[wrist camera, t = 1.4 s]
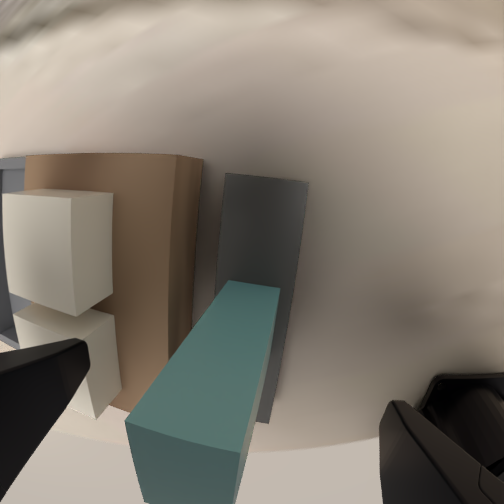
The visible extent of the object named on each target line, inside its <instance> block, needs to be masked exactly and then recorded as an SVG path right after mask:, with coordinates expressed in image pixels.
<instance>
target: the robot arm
mask: <svg viewBox="0 0 504 504" xmlns="http://www.w3.org/2000/svg"><path fill="white" fill-rule="evenodd" d="M90 365H91V363H90V356H89V350H88V344H87V343H86V342H85V341H84V340H81V339H78V338H71V339H67V340H62V341H57V342H53V343H48V344H43V345H38V346H33V347H28V348H23V349H18V350H13V351H8V352H3V353H0V502H1V500H2V498H3V497H4V495H5V494H6V492H7V491H8V489H9V488H10V486H11V485H12V483H13V482H14V480H15V478H16V477H17V476H18V474H19V473H20V471H21V470H22V468H23V467H24V465H25V464H26V463H27V461H28V460H29V458H30V457H31V456H32V454H33V453H34V451H35V450H36V448H37V447H38V446H39V444H40V443H41V441H42V440H43V439H44V437H45V436H46V434H47V433H48V432H49V430H50V429H51V428H52V426H53V425H54V424H55V422H56V421H57V419H58V418H59V417H60V415H61V414H62V413H63V411H64V410H65V409H66V407H67V406H68V404H69V403H70V401H71V400H72V398H73V396H74V395H75V393H76V391H77V390H78V388H79V386H80V385H81V383H82V381H83V380H84V378H85V376H86V375H87V373H88V371H89V369H90ZM440 383H442V384H441V385H440V386H438V385H439V384H440ZM379 443H380V480H381V489H382V498H383V504H504V374H478V375H439V376H437V377H435V378H434V379H433V381H432V382H431V385H430V387H429V389H428V391H427V393H426V396H425V398H424V400H423V402H422V404H421V406H420V408H419V410H418V411H416V410H415V409H414V408H413V407H411V406H410V405H409V404H408V403H407V402H405V401H403V400H392V401H390V402H389V404H388V406H387V408H386V410H385V413H384V415H383V417H382V419H381V422H380V425H379Z"/></svg>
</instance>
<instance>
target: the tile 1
mask: <svg viewBox="0 0 504 504" xmlns="http://www.w3.org/2000/svg"><path fill="white" fill-rule="evenodd" d="M112 212H113V193H108V192H93V191H78V190H61V189H36V190H27V191H19V192H11V193H4V194H2V214H3V238H4V252H5V263H6V272H7V280H8V287H9V292H10V293H12V294H15V295H17V296H20V297H22V298H25V299H28V300H30V301H33V302H35V303H38V304H41V305H44V306H46V307H49V308H52V309H55V310H58V311H61V312H63V313H66V314H69V315H72V316H75V317H77V316H78V315H80V314H82V313H83V312H85V311H86V310H88V309H89V308H91V307H92V306H94V305H95V304H97V303H98V302H100V301H101V300H103V299H105V298H106V297H108V296H109V295H111V294H112V293H113V283H112Z"/></svg>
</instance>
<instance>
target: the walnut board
mask: <svg viewBox="0 0 504 504" xmlns="http://www.w3.org/2000/svg"><path fill="white" fill-rule="evenodd" d="M202 166H203V159H198V158H193V157H187V156H181V155H171V154H142V153H77V154H49V155H31V156H26V162H25V181H24V191H27V190H36V189H61V190H78V191H93V192H108V193H113V212H112V283H113V293H112V294H111V295H109V296H108V297H106V298H105V299H103V300H101V301H100V302H98V303H97V304H95V305H94V306H92V307H91V308H90V309H93V310H97V311H100V312H104V313H108V314H111V315H114V320H115V333H116V344H117V353H118V362H119V370H120V378H121V385H122V390H121V391H120V392H119V393H118V395H117V396H116V397H115V398H114V399H113V400H112V402H111V403H110V404H109V405H111V406H113V407H116V408H119V409H121V410H124V411H127V412H130V413H131V411H132V410H133V409H134V407H135V406H136V405H137V403H138V402H139V401H140V399H141V398H142V396H143V395H144V394H145V392H146V391H147V390H148V388H149V387H150V386H151V384H152V383H153V382H154V380H155V379H156V377H157V376H158V375H159V373H160V372H161V371H162V369H163V368H164V367H165V365H166V364H167V363H168V361H169V360H170V359H171V357H172V356H173V354H174V353H175V352H176V350H177V349H178V348H179V346H180V345H181V344H182V342H183V341H184V340H185V338H186V337H187V336H188V334H189V333H190V331H191V327H192V302H193V282H194V264H195V249H196V235H197V222H198V209H199V198H200V187H201V176H202ZM33 303H35V302H33V301H31V304H33Z"/></svg>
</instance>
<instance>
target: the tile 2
mask: <svg viewBox="0 0 504 504" xmlns="http://www.w3.org/2000/svg"><path fill="white" fill-rule="evenodd" d="M13 317H14V322H15V327H16V332H17V336H18V341H19V345H20V349H23V348H28V347H33V346H38V345H43V344H48V343H53V342H57V341H62V340H67V339H71V338H78V339H81V340H84V341H85V342H86V343H87V344H88V350H89V356H90V363H91V365H90V369H89V371H88V373H87V375H86V376H85V378H84V380H83V381H82V383H81V385H80V386H79V388H78V390H77V391H76V393H75V395H74V396H73V398H72V400H71V401H70V403H69V404H68V406H67V407H68V408H71V409H73V410H75V411H77V412H79V413H81V414H83V415H86V416H88V417H90V418H92V419H95V420H97V418H98V417H99V416H100V415H101V414H102V412H103V411H104V410H105V409H106V408H107V406H108V405H109V404H110V403H111V402H112V400H113V399H114V398H115V397H116V396H117V395H118V393H119V392H120V391H121V390H122V385H121V378H120V370H119V362H118V353H117V344H116V333H115V320H114V315H111V314H108V313H104V312H100V311H97V310H93V309H90V308H89V309H88V310H86V311H85V312H83V313H82V314H80V315H78V316H77V317H75V316H72V315H69V314H66V313H63V312H61V311H58V310H55V309H52V308H49V307H46V306H44V305H41V304H38V303H33V304H31V305H29V306H27V307H25V308H24V309H22V310H20V311H18V312H16V313H14V314H13Z"/></svg>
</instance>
